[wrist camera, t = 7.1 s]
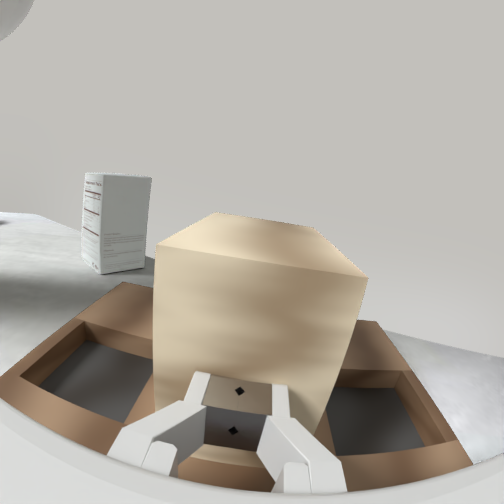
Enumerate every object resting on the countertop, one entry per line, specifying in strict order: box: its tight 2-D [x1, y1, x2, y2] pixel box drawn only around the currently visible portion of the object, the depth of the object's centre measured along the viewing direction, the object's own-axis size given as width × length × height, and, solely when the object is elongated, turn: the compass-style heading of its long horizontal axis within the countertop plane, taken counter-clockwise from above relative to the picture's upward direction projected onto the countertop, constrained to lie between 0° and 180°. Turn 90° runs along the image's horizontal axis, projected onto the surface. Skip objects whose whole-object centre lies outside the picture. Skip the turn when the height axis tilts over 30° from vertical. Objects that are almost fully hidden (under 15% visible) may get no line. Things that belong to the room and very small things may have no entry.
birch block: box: [153, 212, 368, 468], centre depth 14 cm, size 6×10×9 cm, turn 177°
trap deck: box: [0, 282, 473, 493], centre depth 16 cm, size 26×24×2 cm
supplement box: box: [81, 173, 152, 275], centre depth 36 cm, size 7×7×13 cm
